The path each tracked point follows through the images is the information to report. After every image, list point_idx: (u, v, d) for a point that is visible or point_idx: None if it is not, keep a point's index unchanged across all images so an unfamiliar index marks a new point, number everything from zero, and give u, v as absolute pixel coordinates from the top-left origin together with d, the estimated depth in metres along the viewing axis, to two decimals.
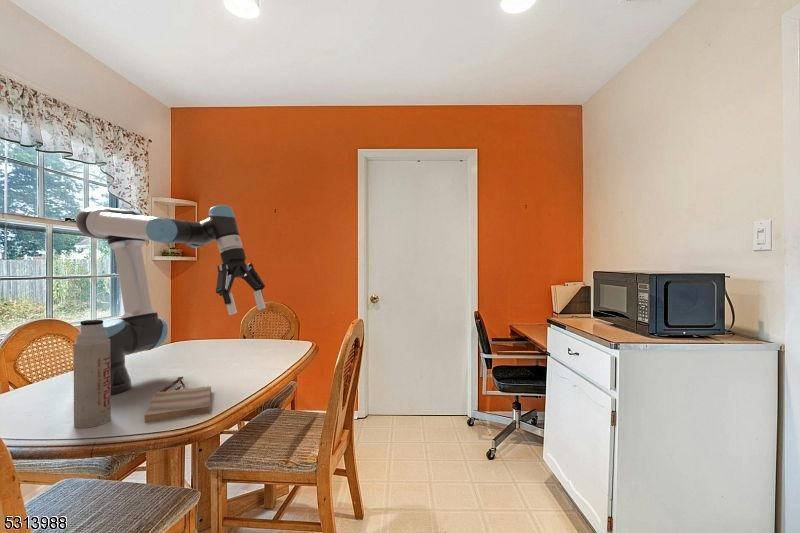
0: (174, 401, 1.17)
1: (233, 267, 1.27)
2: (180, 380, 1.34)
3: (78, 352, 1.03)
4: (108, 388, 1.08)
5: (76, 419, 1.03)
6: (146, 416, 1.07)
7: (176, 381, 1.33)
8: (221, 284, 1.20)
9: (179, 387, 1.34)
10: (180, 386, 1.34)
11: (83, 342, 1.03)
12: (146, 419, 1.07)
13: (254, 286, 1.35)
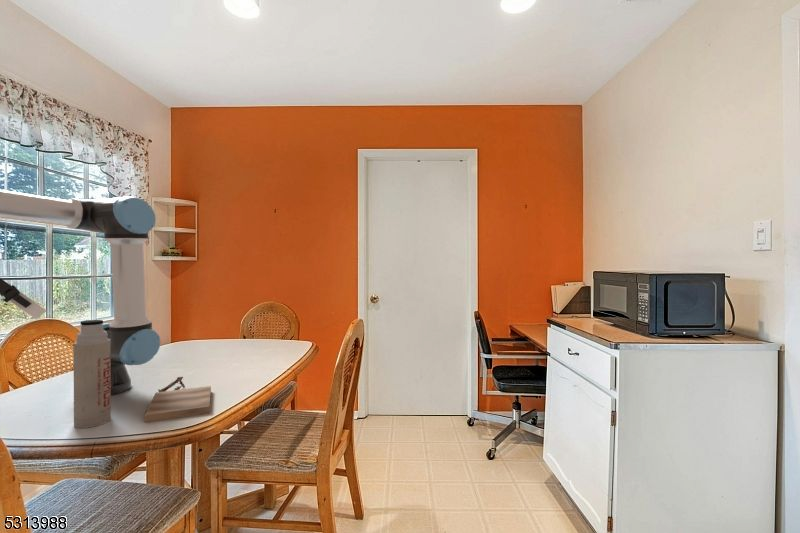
0: (174, 401, 1.17)
1: None
2: (180, 380, 1.34)
3: (78, 352, 1.03)
4: (108, 388, 1.08)
5: (76, 419, 1.03)
6: (146, 416, 1.07)
7: (176, 381, 1.33)
8: None
9: (179, 387, 1.33)
10: (180, 386, 1.34)
11: (83, 342, 1.03)
12: (146, 419, 1.07)
13: None
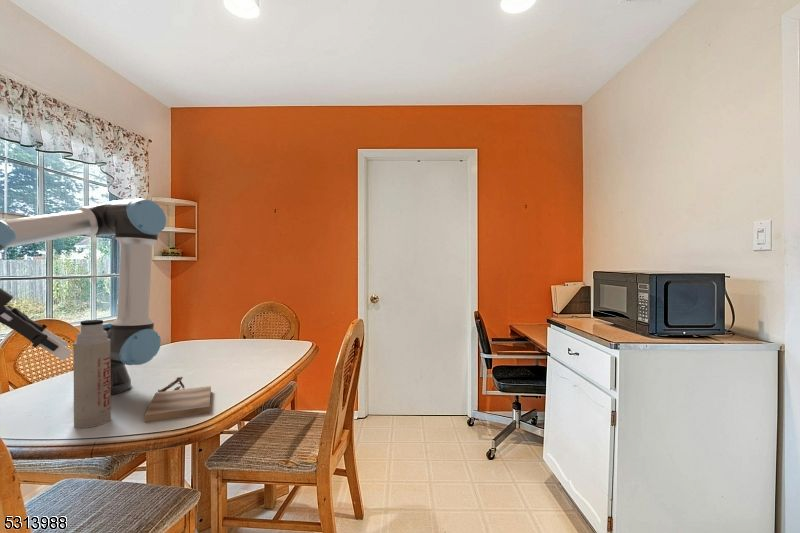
0: (174, 401, 1.17)
1: None
2: (179, 380, 1.34)
3: (78, 352, 1.03)
4: (108, 388, 1.08)
5: (76, 419, 1.03)
6: (146, 416, 1.07)
7: (175, 381, 1.33)
8: None
9: (178, 387, 1.33)
10: (179, 386, 1.34)
11: (83, 342, 1.03)
12: (146, 419, 1.07)
13: None
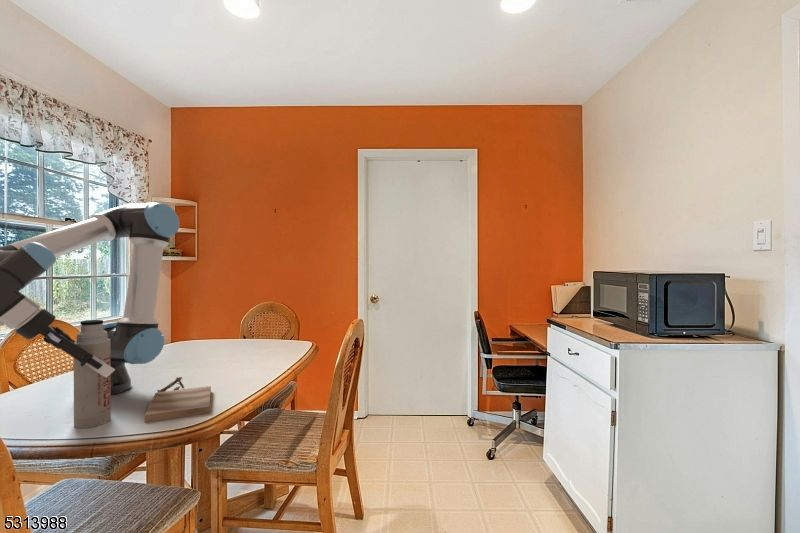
0: (174, 401, 1.17)
1: None
2: (179, 380, 1.33)
3: None
4: (108, 388, 1.08)
5: (76, 419, 1.03)
6: (146, 416, 1.07)
7: (175, 381, 1.32)
8: None
9: (178, 387, 1.33)
10: (179, 386, 1.34)
11: (83, 342, 1.03)
12: (146, 419, 1.07)
13: None
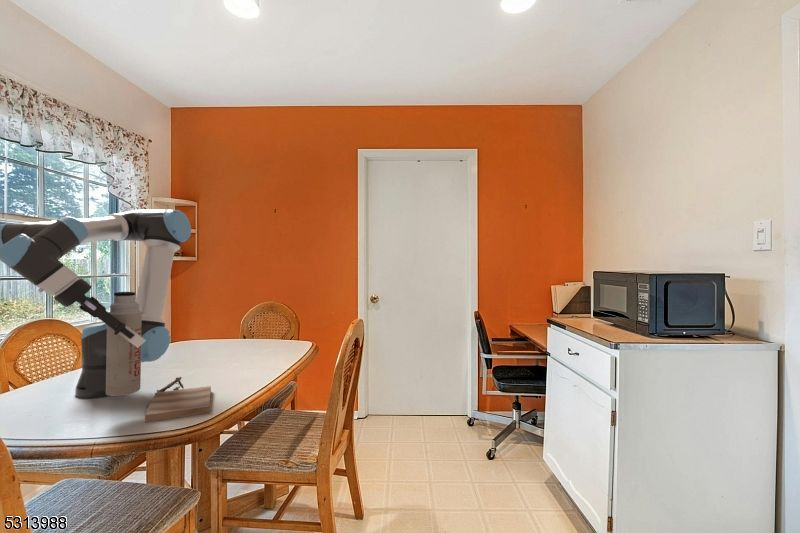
0: (174, 401, 1.17)
1: None
2: (178, 380, 1.33)
3: None
4: (139, 358, 1.10)
5: (108, 387, 1.06)
6: (146, 416, 1.07)
7: (174, 381, 1.32)
8: None
9: (177, 387, 1.33)
10: None
11: (116, 312, 1.06)
12: (146, 419, 1.07)
13: None
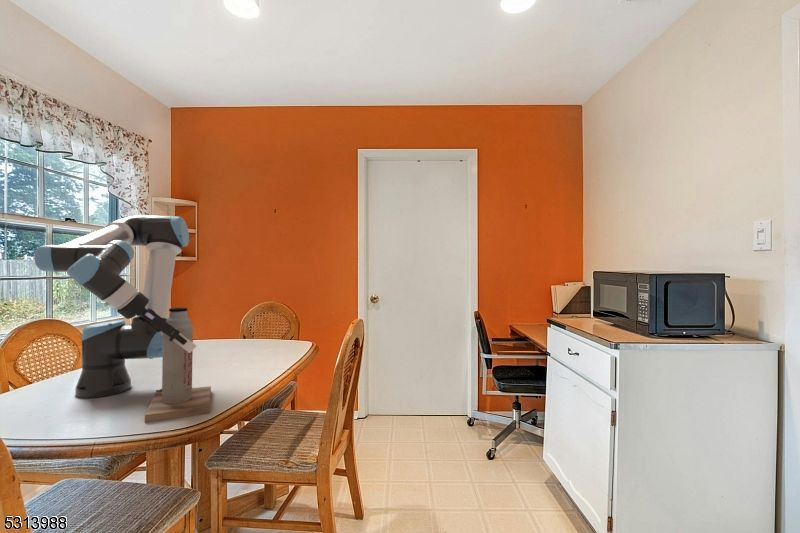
0: None
1: None
2: None
3: None
4: (191, 369, 1.20)
5: (164, 396, 1.16)
6: (146, 416, 1.07)
7: None
8: None
9: None
10: None
11: None
12: (146, 419, 1.07)
13: None
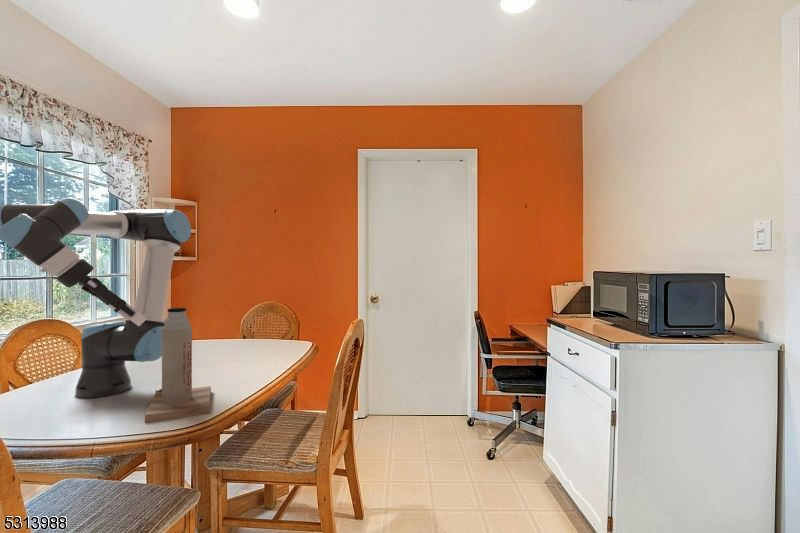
0: None
1: None
2: None
3: (167, 336, 1.15)
4: (190, 369, 1.20)
5: (164, 396, 1.16)
6: (146, 416, 1.07)
7: None
8: None
9: None
10: None
11: (171, 327, 1.15)
12: (146, 419, 1.07)
13: None
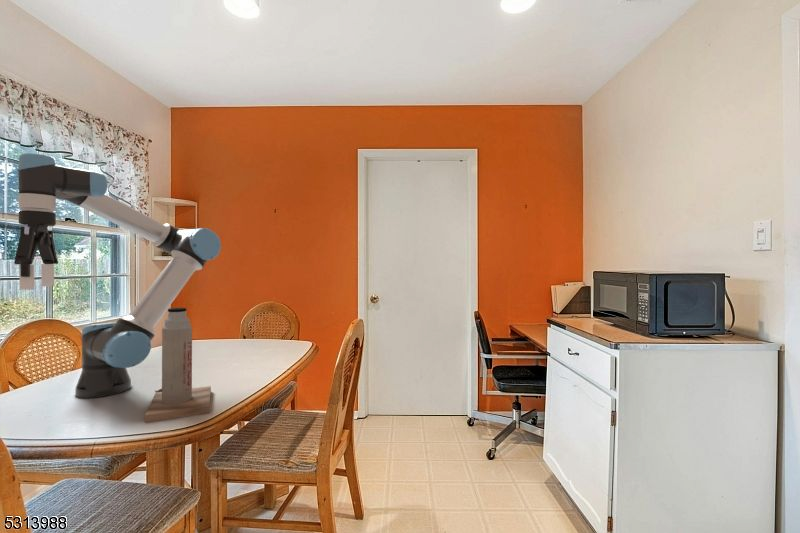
0: None
1: None
2: None
3: (168, 335, 1.15)
4: (191, 369, 1.20)
5: (164, 396, 1.16)
6: (146, 416, 1.07)
7: None
8: None
9: None
10: None
11: (171, 327, 1.16)
12: (146, 419, 1.07)
13: None
